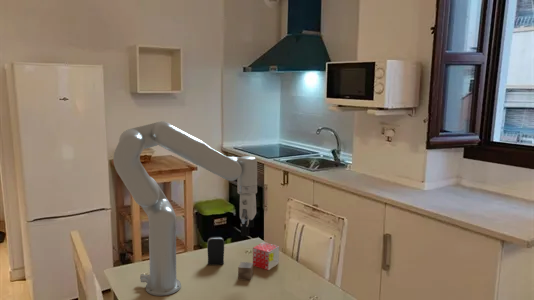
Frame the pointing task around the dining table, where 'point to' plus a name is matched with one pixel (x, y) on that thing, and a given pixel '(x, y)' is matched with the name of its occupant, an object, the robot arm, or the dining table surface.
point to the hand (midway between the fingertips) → (247, 231)
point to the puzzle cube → (265, 255)
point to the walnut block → (245, 271)
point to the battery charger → (215, 250)
